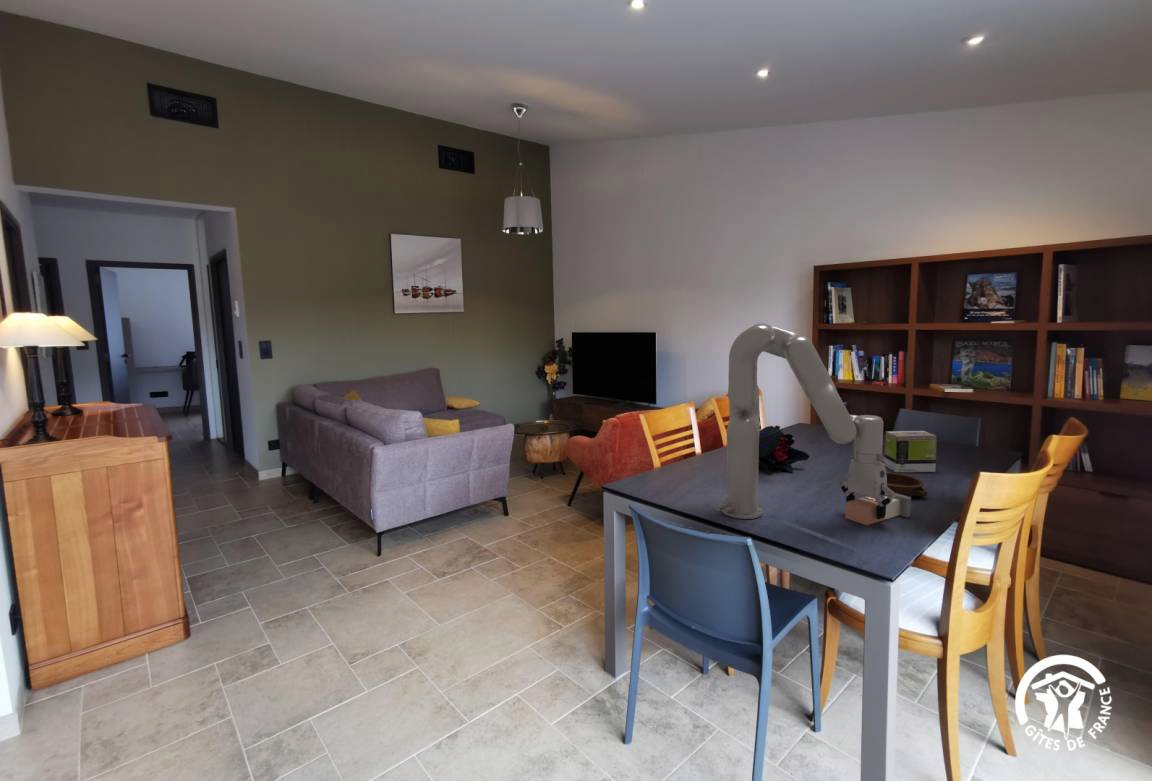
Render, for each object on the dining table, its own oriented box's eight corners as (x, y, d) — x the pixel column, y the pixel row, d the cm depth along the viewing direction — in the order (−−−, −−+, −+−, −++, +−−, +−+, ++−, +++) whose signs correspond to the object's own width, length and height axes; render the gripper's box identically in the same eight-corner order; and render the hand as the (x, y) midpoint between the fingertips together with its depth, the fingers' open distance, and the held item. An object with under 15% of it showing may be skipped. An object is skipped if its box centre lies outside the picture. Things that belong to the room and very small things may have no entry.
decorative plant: (768, 483, 241) (828, 482, 215) (721, 467, 231) (778, 463, 205) (774, 437, 247) (833, 430, 221) (729, 418, 237) (785, 409, 211)
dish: (914, 506, 184) (915, 491, 184) (847, 490, 202) (848, 476, 201) (937, 494, 195) (938, 480, 194) (871, 480, 212) (872, 467, 211)
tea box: (922, 466, 229) (924, 430, 227) (935, 473, 219) (938, 435, 217) (883, 466, 231) (885, 430, 229) (894, 473, 221) (896, 435, 219)
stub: (867, 525, 165) (867, 508, 165) (845, 518, 171) (846, 501, 171) (883, 519, 169) (884, 503, 168) (862, 513, 175) (862, 496, 174)
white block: (892, 522, 167) (893, 502, 166) (855, 511, 177) (856, 492, 177) (916, 514, 173) (917, 495, 172) (879, 504, 183) (880, 486, 182)
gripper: (903, 461, 162) (901, 519, 164) (849, 450, 177) (847, 503, 179) (887, 465, 158) (885, 524, 161) (833, 453, 173) (831, 507, 176)
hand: (865, 513), depth 170 cm, fingers open, 9 cm apart
